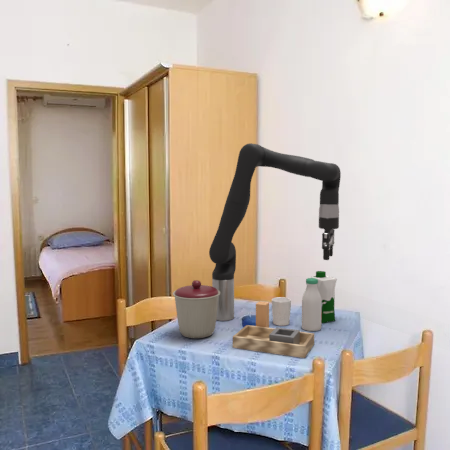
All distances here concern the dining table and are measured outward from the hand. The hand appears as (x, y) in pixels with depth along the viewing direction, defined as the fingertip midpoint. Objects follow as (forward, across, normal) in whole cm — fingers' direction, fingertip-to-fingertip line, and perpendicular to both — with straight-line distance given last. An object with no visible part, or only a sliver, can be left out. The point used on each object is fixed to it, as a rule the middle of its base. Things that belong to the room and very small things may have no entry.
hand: (328, 257), depth 183 cm
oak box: (+29, +23, -15) cm, 40 cm away
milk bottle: (+29, 0, -6) cm, 30 cm away
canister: (+29, +21, -46) cm, 58 cm away
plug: (+29, +12, -22) cm, 39 cm away
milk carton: (+29, -13, -3) cm, 32 cm away
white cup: (+29, -3, -19) cm, 35 cm away
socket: (+29, +24, -11) cm, 39 cm away
